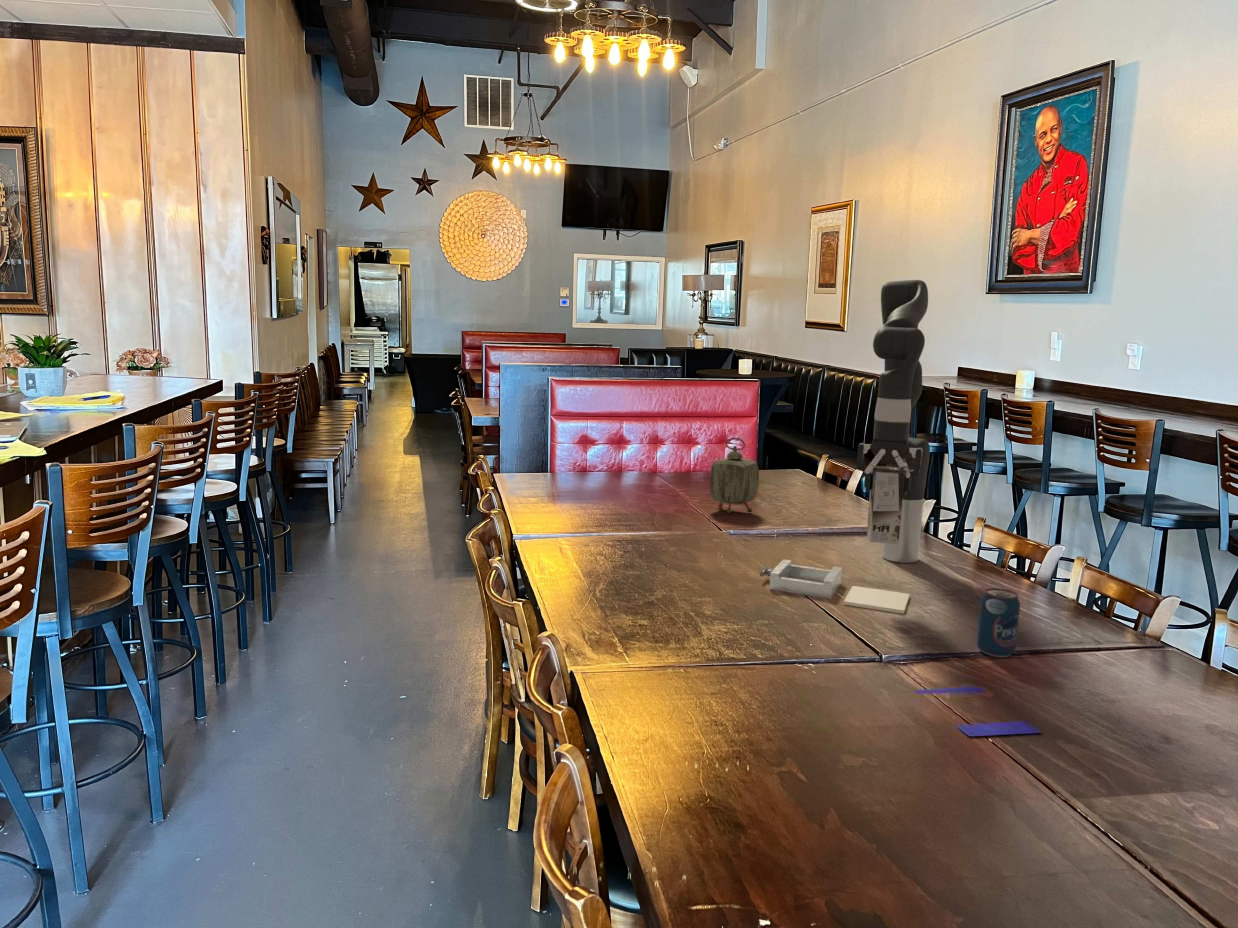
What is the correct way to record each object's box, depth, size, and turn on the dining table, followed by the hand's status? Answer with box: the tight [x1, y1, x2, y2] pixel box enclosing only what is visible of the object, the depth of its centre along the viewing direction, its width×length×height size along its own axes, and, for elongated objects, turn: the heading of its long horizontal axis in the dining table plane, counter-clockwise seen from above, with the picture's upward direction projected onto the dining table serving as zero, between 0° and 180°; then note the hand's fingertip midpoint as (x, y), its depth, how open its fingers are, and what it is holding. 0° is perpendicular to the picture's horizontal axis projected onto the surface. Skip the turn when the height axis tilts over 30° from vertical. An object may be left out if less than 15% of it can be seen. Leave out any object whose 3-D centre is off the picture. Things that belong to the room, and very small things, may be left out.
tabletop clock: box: [709, 437, 760, 513], centre depth 282 cm, size 14×9×25 cm, turn 58°
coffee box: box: [866, 465, 905, 544], centre depth 192 cm, size 9×6×16 cm
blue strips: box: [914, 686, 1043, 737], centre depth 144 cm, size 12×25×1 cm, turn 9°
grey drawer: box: [759, 559, 843, 599], centre depth 206 cm, size 13×18×4 cm
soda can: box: [976, 587, 1021, 658], centre depth 166 cm, size 7×7×12 cm
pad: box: [843, 585, 911, 615], centre depth 196 cm, size 13×13×1 cm
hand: (886, 491), depth 192 cm, fingers closed on coffee box, 7 cm apart
